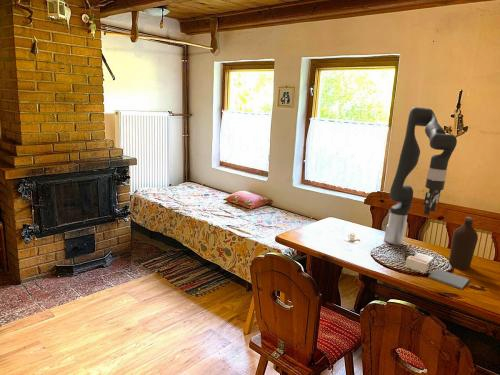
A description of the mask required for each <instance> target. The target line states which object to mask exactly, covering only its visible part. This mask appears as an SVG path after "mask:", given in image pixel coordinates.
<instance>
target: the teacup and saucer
mask: <svg viewBox="0 0 500 375" xmlns="http://www.w3.org/2000/svg"><path fill="white" fill-rule="evenodd" d="M360 240H361V237H360V236H356V233H354V232H350V233H349V234H348V235H347V237H345V238H344V241H346V242H347V243H351V244H358V243H359V242H360Z"/></svg>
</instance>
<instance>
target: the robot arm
mask: <svg viewBox="0 0 500 375" xmlns="http://www.w3.org/2000/svg"><path fill="white" fill-rule="evenodd" d="M417 126H418V127H425V129H424V133H425V135H426V136H427V138H428V139H429V147H430V148H431V149H433V150H436V151H437V150H438V151H439V150H440V151H442V152H440V153H439V154H434V155H431V158H430V163H429V168H428V171H427V174H426V181H425V185H424V186H425V188H426V189H429V190H428V191H426V192H425V196H424V201H423V206H424V211H423V215H426V216H429V215H430V213H431V212H436V209H437V204H438V203H439V201H440V196H441V191H443V190H444V188H445V183H446V178H447V170H448V164H449V161H450V158H451V157H452V154H453V152H454V151H455V148H456V147H457V145H458V144H457V143H458V140H457V137H456V135H454V134H446V131H445V130H444V128H443V127H442V126H441V125H440V124H439V120H438V119H437V117H436V114H435V113H434V111H433V109H431V108H429V107H428V108H427V107H418V106H417V107H416V106H414V107H412V108H411V110H410V111H409V113H408V119H407V124H406V130H405V136H404V140H403V144H402V147H401V151H400V154H399V161H398V164H397V169H396V172H395V176H394V178H393V181H392V184H391V187H390V189H389V190H390V191H389V198H390V200H391V201H392V202H397V204H394V205H392V206H391V207H390V209H389V215H388V216H389V217H388V222H387V224H386V226H385V231H384V238H383V241H384V242H386V243H388V244H391V245H396V246H400V245H402V244H403V242H404V237H405V232H406V225H407V220H408V214H409V212H410V210H411V206H412V203H413V197H414V189H413V188H412V186H411V185H408V184H405V181H406V179H407V177H408V176H409V175H410V174H411V172H412V171H413V170H414V169H415V168H416V167H417V165H418V163H419V159H420V155H421V149H420V147H419V143H418V140H417V138H416V127H417Z"/></svg>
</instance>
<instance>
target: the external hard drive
mask: <svg viewBox="0 0 500 375" xmlns="http://www.w3.org/2000/svg"><path fill="white" fill-rule="evenodd" d="M414 257H417V258H420V259H423V260H426V261H429V263H430V262H431V261H432V262H433V261H434V259H435V258H434V256H430V255H427V254H425V253H421V252H417V253H415V255H414ZM430 264H431V263H430Z"/></svg>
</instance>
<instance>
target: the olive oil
mask: <svg viewBox="0 0 500 375" xmlns="http://www.w3.org/2000/svg"><path fill="white" fill-rule="evenodd" d="M473 222H474V218H473V217H471V216H465V219H464V223H463V224H462V225H461V226H458V227H457V228H455V230H454V231H453V234H452V240H451V245H450V246H451V247H450V254H449V256H448V257H449V259H448V264H449V263H450V264H451V265H450V264H449V265H450V266H452V267H453V268H456V269H460V270H469V269H470V268H471V265H472V260H473V257H474V254H475V251H476V247H477V243H478V239H479V236H478V233H477V231H476V230H475V228H474V227H473Z"/></svg>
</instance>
